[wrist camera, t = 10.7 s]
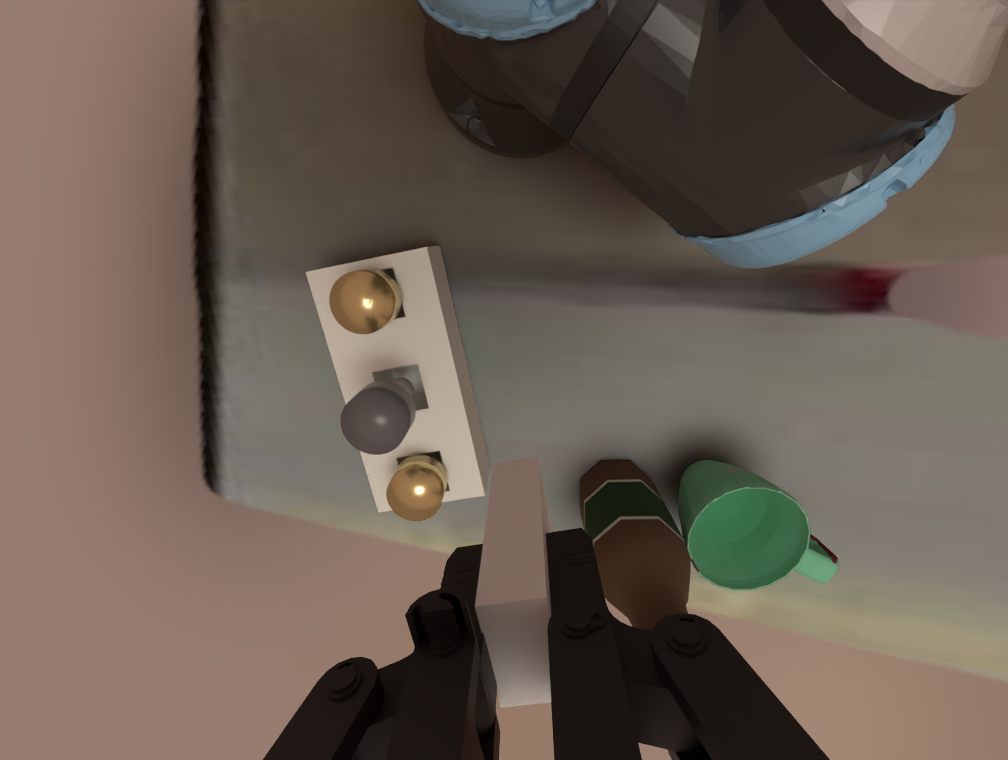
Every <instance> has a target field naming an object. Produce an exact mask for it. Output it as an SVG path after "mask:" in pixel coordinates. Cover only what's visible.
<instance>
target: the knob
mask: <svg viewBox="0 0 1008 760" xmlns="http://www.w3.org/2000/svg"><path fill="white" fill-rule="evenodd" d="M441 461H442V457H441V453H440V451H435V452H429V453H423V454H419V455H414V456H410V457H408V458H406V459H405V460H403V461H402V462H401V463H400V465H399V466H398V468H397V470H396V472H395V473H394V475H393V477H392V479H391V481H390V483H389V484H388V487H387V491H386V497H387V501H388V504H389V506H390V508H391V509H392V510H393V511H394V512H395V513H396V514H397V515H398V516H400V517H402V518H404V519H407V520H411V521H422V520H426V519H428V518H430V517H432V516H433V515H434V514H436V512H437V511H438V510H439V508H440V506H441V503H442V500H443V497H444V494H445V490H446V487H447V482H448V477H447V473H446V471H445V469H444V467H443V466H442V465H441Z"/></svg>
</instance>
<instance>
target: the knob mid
mask: <svg viewBox="0 0 1008 760" xmlns="http://www.w3.org/2000/svg"><path fill="white" fill-rule="evenodd" d="M413 394H414V387H413V384H412V383H411V382H410V381H409V380H408V379H406V378H402V377H399V378H395V379H393V380H392V381H391V382H390V381H375V382H372V383H370V384H368V385H366V386H365V387H364V388H363V389H362V390H361V391H359V392H358V393H357V394H356V395H355V396H354V397H353V398H352V399H351V400H350V401H349V402H348V403H347V404H346V406H345V407H344V409H343V411H342V415H341V428H342V431H343V434H344V436H345V437H346V439H347V440H348V442H349V443H350V444H351V445H352V446H353V447H355V448H356V449H358V450H360V451H362V452H364V453H367V454H372V455H381V454H386V453H389V452H391V451H393V450H394V449H396V448H397V447H398V446H399V445H400V444H401V442H402V441H403V439H404V438H405V436H406V434H407V432H408V431H409V429H410V427H411V426H412V424H413V422H414V419H415V413H416V410H415V404H414V401H413V399H412V396H413Z"/></svg>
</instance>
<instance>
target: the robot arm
mask: <svg viewBox="0 0 1008 760" xmlns="http://www.w3.org/2000/svg"><path fill="white" fill-rule="evenodd" d="M416 1H417V3H418V5H419V7H420V9H421V11H422V13H423V16H424V18H425V20H426V24H425V34H424V46H425V58H426V65H427V71H428V75H429V78H430V82H431V85H432V87H433V90H434V93H435V95H436V97H437V99H438V101H439V103H440V105H441V106H442V108H443V110H444V111H445V113H446V114H447V116H448V117H449V119H450V120H451V121H452V123H453V124H454V125H455V126H456V128H457V129H458V130H459V131H460V132H461V133H462V134H463V135H464V136H466V137H467V138H468V139H469V140H471V141H472V142H473V143H475V144H476V145H478V146H480V147H481V148H483V149H485V150H488V151H490V152H492V153H495V154H499V155H503V156H508V157H517V158H526V157H535V156H540V155H544V154H547V153H550V152H553V151H555V150H557V149H559V148H561V147H563V146H565V145H566V144H568V143H569V144H570V145H571V146H573V147H574V148H575V149H576V150H578V151H579V152H580V153H581V154H583V155H584V156H585V157H586V158H588V159H589V160H590V161H591V162H593V163H594V164H595V165H596V166H598V167H599V168H600V169H601V170H603V171H604V172H605V173H606V174H608V175H609V176H610V177H611V178H613V179H614V180H615V181H616V182H618V183H619V184H620V185H621V186H623V187H624V188H625V189H626V190H628V191H629V192H630V193H631V194H633V195H634V196H635V197H636V198H638V199H639V200H640V201H641V202H643V203H644V204H645V205H646V206H648V207H649V208H650V209H651V210H653V211H654V212H655V213H656V214H658V215H659V216H660V217H661V218H663V219H664V220H665V221H666V222H668V224H669V226H670V228H671V229H672V230H673V231H674V232H675V233H676V234H677V235H678V236H679V237H681V238H685V239H686V240H687V241H689V242H693V243H696V244H697V245H699V246H700V247H701V248H703V249H704V250H706V251H707V252H708V253H710V254H711V255H713V256H714V257H715V258H717V259H718V260H720V261H722V262H723V263H726V264H729V265H732V266H735V267H741V268H764V267H770V266H775V265H779V264H783V263H787V262H790V261H793V260H796V259H799V258H801V257H804V256H806V255H809V254H811V253H813V252H816V251H818V250H820V249H822V248H824V247H826V246H828V245H830V244H832V243H834V242H836V241H837V240H839V239H841V238H843V237H845V236H846V235H848V234H850V233H851V232H853V231H855V230H856V229H858V228H859V227H861V226H862V225H864V224H865V223H867V222H868V221H869V220H871V219H872V218H874V217H875V216H876V215H878V214H879V213H880V212H882V211H883V210H884V209H886V204H887V203H886V200H887V199H888V197H890V196H892V195H894V194H896V193H898V192H901V191H904V190H907V189H909V188H911V187H912V186H913V185H914V184H915V183H916V182H917V181H918V180H919V179H920V178H921V177H922V176H923V175H924V174H925V172H926V171H927V170H928V169H929V168H930V167H931V166H932V164H933V163H934V162H935V161H936V159H937V158H938V156H939V155H940V153H941V152H942V150H943V149H944V147H945V145H946V144H947V142H948V141H949V139H950V137H951V134H952V130H953V127H954V123H955V111H954V103H955V102H957V101H958V100H960V99H961V98H962V97H964V96H965V95H967V94H968V93H970V92H971V91H973V90H974V89H975V88H977V87H978V86H980V85H981V84H982V83H983V82H984V81H985V80H986V79H987V78H988V77H989V75H990V73H991V71H992V68H993V65H994V63H995V60H996V57H997V55H998V52H999V49H1000V47H1001V44H1002V41H1003V39H1004V36H1005V33H1006V31H1007V28H1008V0H416ZM405 616H406V619H407V622H408V626H409V629H410V632H411V636H412V639H413V642H414V645H415V649H414V652H413V653H412V654H411V655H409V656H408V657H406V658H404V659H402V660H400V661H398V662H395V663H393V664H390V665H388V666H385V667H383V668H380V669H377V666H376V665H375V664H374V662H373V661H372V660H371V659H368V658H364V657H355V658H350V659H347V660H345V661H342V662H340V663H338V664H336V665H335V666H334V667H332V668H331V669H329V670H328V671H327V672H326V673H325V674H324V675H323V676H322V677H321V678H320V679H319V681H318V682H317V683H316V685H315V686H314V687H313V689H312V690H311V692H310V693H309V695H308V696H307V697H306V699H305V700H304V702H303V703H302V705H301V706H300V707H299V709H298V711H297V712H296V713H295V714H294V716H293V717H292V719H291V720H290V722H289V723H288V725H287V726H286V727H285V729H284V730H283V732H282V733H281V734H280V736H279V738H278V739H277V740H276V742H275V743H274V745H273V746H272V747H271V749H270V750H269V751H268V753H267V754H266V756H265V758H264V759H263V760H499V744H500V729H499V723H498V719H497V715H496V695H498V698H499V702H500V706H501V708H503V707H512V706H520V705H529V704H538V703H546V702H551V705H552V721H553V741H554V760H642V758H641V754H640V749H639V745H638V743H642V744H647V745H651V746H655V747H660V748H664V749H668V752H669V755H670V756H671V759H672V760H829V758H828V757H827V756H826V755H825V753H824V752H823V751H822V750H821V749H820V748H819V746H817V744H816V743H815V742H814V741H813V739H812V738H811V737H810V736H809V735H808V734H807V732H806V731H805V730H804V729H803V728H802V726H801V725H800V724H799V723H798V722H797V721H796V719H795V718H794V717H793V716H792V715H791V713H790V712H789V711H788V710H787V709H786V708H785V706H784V705H783V704H782V703H781V702H780V701H779V699H778V698H777V697H776V696H775V695H774V693H773V692H772V691H771V690H770V689H769V688H768V686H767V685H766V684H765V683H764V682H763V681H762V679H761V678H760V677H759V676H758V675H757V674H756V672H755V671H754V670H753V669H752V668H751V666H750V665H749V664H748V663H747V662H746V661H745V659H744V658H743V657H742V656H741V655H740V653H739V652H738V651H737V650H736V649H735V648H734V646H733V645H732V644H731V643H730V642H729V641H728V639H727V638H726V637H725V636H724V635H723V633H722V632H721V631H720V630H719V629H718V628H717V627H716V626H715V625H713V624H712V623H711V622H710V621H708V620H706V619H704V618H702V617H699V616H697V615H692V614H685V613H679V614H673V615H668V616H666V617H665V618H663V619H661V620H659V621H658V622H657V623H656V625H655V626H654V627H653V629H652V630H647V629H640V628H636V627H631V626H628V625H626V624H624V623H622V622H620V621H619V620H617V619H616V618H615V617H614V616H613V615H612V614H611V613H610V611H609V610H608V607H607V605H606V601H605V597H604V592H603V588H602V583H601V579H600V574H599V570H598V565H597V561H596V556H595V552H594V547H593V543H592V538H591V537H590V536H589V535H588V534H587V533H586V532H585V531H584V530H583V529H582V528H577V529H571V530H564V531H557V532H552V526H551V521H550V516H549V510H548V505H547V500H546V495H545V490H544V485H543V480H542V475H541V470H540V465H539V459H538V457H535V458H529V459H523V460H516V461H510V462H504V463H498V464H494V467H493V475H492V482H491V490H490V497H489V504H488V512H487V519H486V527H485V534H484V542H483V544H479V545H472V546H466V547H459V548H456V550H455V551H454V552H453V553H452V555H451V556H450V557H449V558H448V560H447V562H446V566H445V570H444V577H443V579H442V583H441V588H440V589H439V590H435V591H431V592H429V593H427V594H425V595H423V596H422V597H420V598H418V599H417V600H416V601H415V602H414V603H413V604H412V605H411V606H410V607H409V609H408V611H407V613H406V615H405Z"/></svg>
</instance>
